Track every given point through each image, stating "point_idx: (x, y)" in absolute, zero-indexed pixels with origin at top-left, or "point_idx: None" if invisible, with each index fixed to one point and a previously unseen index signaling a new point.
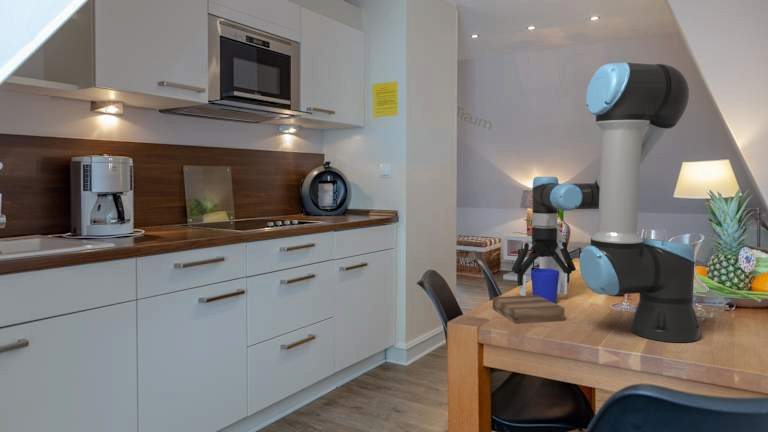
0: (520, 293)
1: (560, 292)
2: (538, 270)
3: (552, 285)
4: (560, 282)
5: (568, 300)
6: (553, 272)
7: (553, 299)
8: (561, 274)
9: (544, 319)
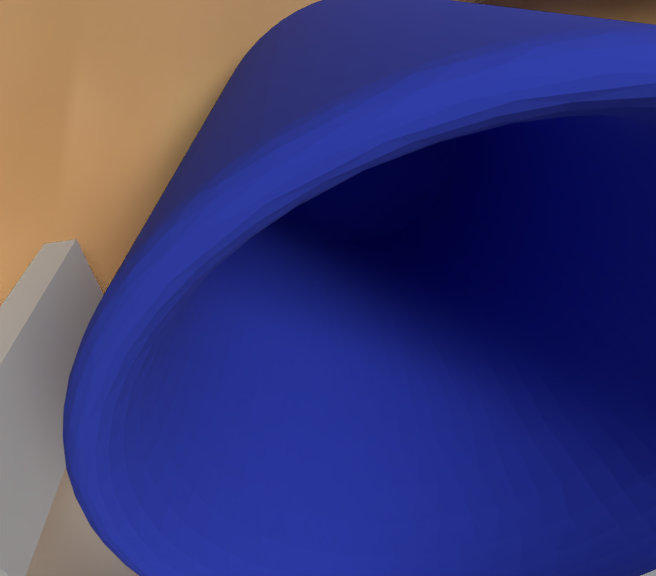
0: None
1: None
2: (486, 572)
3: (362, 9)
4: None
5: (46, 236)
6: (206, 506)
7: (292, 14)
8: (19, 533)
9: None
